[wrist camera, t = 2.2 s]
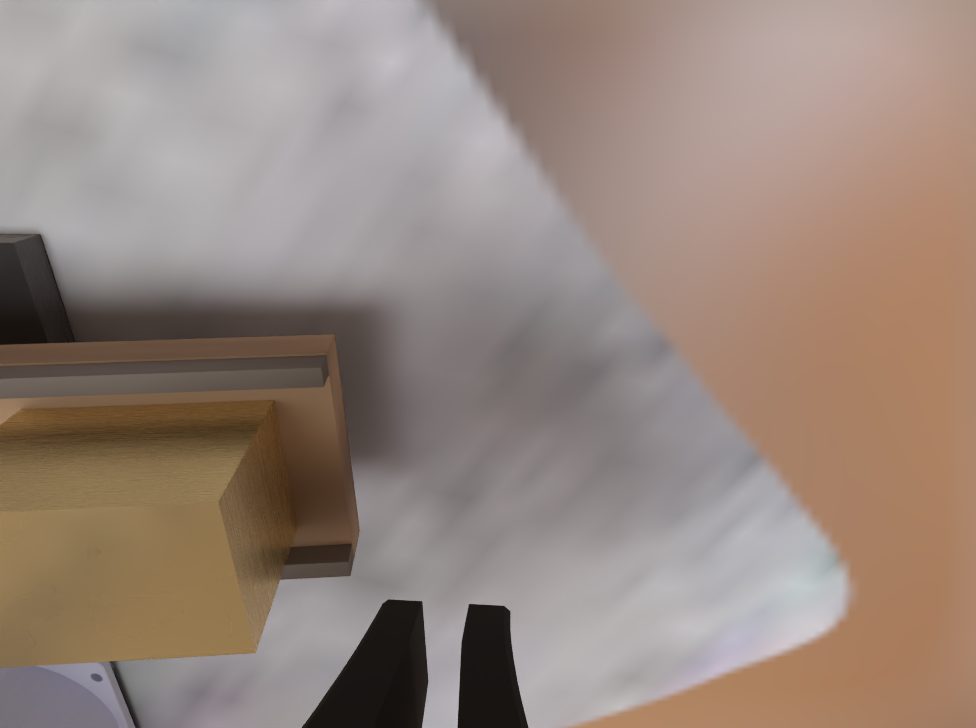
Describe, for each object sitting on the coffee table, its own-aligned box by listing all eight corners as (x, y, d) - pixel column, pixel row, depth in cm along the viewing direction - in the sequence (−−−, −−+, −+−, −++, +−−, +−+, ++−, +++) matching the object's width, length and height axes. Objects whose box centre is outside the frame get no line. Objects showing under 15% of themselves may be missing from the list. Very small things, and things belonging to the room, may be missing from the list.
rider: (297, 528, 17) (255, 652, 13) (71, 538, 16) (-37, 670, 13) (274, 399, 15) (218, 502, 11) (20, 409, 15) (-121, 517, 11)
